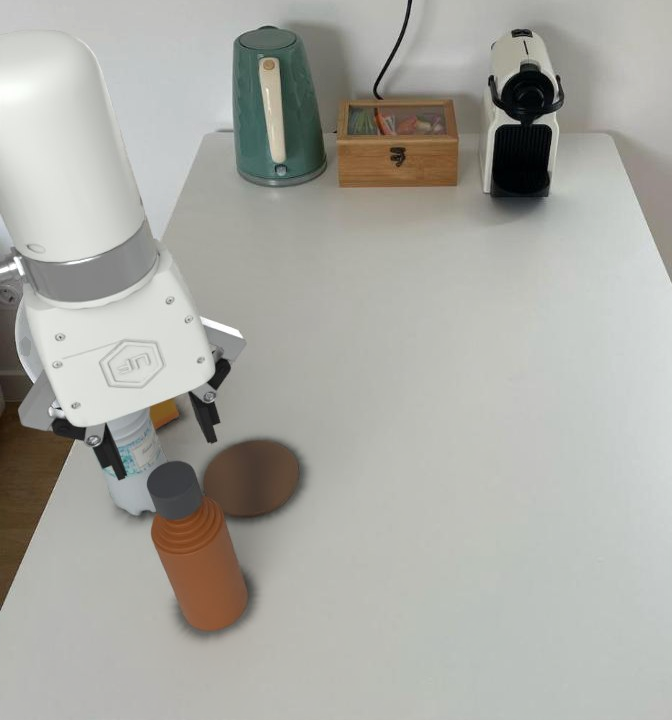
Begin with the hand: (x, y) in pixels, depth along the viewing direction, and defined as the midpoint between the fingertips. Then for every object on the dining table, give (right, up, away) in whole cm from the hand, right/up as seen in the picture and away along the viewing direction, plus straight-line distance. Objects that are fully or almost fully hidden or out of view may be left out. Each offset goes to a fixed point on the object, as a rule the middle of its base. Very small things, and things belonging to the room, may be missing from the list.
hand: (163, 447), depth 61 cm
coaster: (+2, -6, +25) cm, 26 cm away
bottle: (-9, -8, +24) cm, 27 cm away
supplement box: (-10, 0, +32) cm, 34 cm away
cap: (0, -5, +4) cm, 7 cm away
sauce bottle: (0, -16, +15) cm, 22 cm away
